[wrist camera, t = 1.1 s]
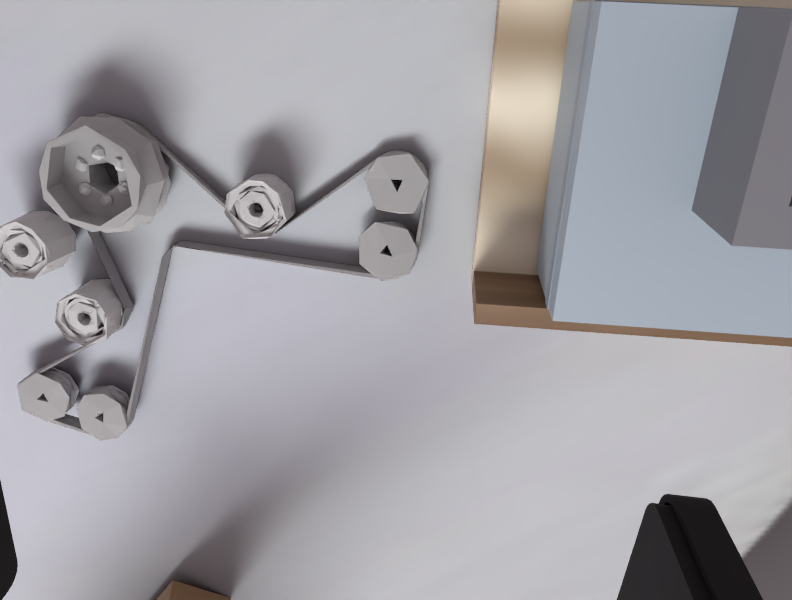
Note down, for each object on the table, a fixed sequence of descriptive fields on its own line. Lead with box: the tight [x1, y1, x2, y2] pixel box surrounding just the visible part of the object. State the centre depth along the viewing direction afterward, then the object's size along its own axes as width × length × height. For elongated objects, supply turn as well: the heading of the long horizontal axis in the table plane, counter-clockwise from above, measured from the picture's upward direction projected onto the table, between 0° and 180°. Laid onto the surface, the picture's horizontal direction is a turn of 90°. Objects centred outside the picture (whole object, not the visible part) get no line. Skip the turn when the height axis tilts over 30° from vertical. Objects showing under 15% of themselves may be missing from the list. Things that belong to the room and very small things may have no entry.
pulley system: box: [0, 113, 429, 441], centre depth 35 cm, size 27×5×15 cm
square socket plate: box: [536, 0, 792, 338], centre depth 25 cm, size 12×16×10 cm
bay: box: [471, 0, 792, 347], centre depth 28 cm, size 22×22×6 cm
